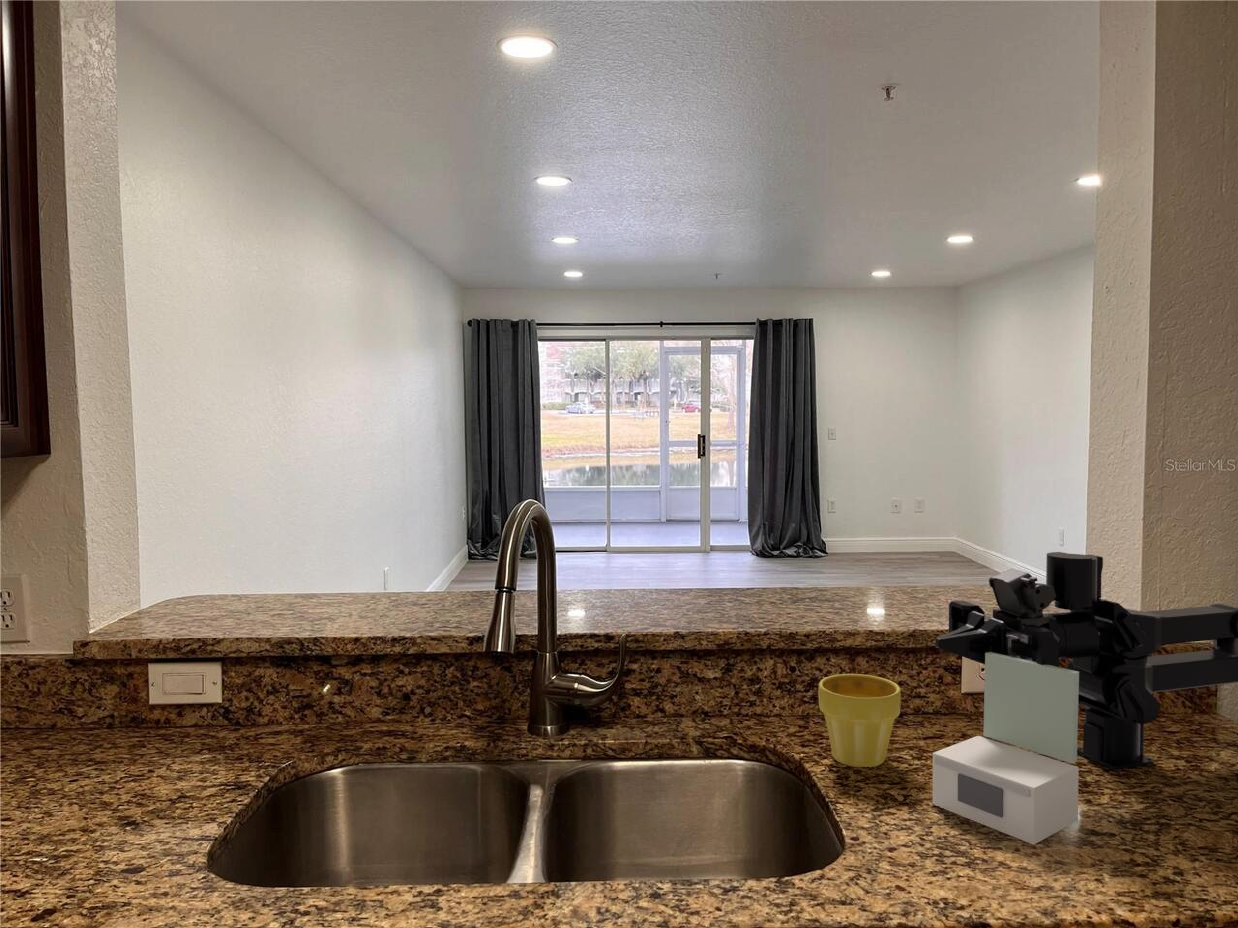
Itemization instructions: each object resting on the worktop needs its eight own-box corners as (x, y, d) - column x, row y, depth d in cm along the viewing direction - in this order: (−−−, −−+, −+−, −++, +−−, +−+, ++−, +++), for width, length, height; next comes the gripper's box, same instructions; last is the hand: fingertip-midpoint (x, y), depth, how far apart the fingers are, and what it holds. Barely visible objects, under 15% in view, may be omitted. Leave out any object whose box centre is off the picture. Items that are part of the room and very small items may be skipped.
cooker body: (977, 784, 105) (978, 735, 105) (1077, 820, 95) (1078, 766, 95) (930, 804, 99) (931, 753, 99) (1032, 845, 90) (1032, 788, 89)
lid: (983, 735, 104) (991, 732, 105) (1072, 763, 95) (1080, 759, 96) (985, 652, 104) (993, 650, 105) (1074, 672, 95) (1082, 670, 96)
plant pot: (905, 776, 107) (905, 699, 107) (819, 771, 109) (819, 695, 109) (896, 746, 118) (896, 674, 117) (817, 741, 120) (817, 671, 119)
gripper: (1004, 561, 118) (898, 565, 115) (1106, 586, 99) (983, 592, 97) (1003, 642, 118) (898, 648, 115) (1104, 682, 100) (982, 691, 97)
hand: (937, 643), depth 106 cm, fingers closed
